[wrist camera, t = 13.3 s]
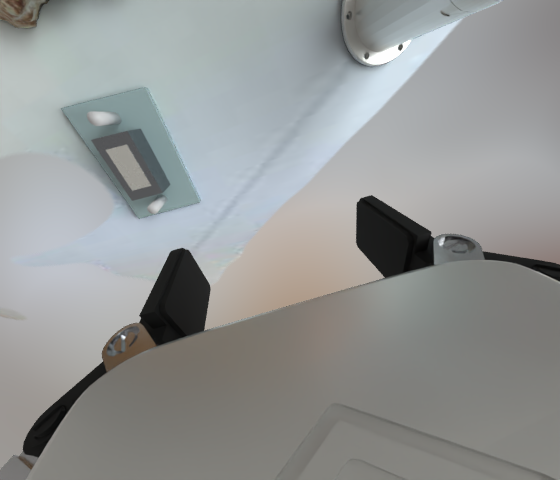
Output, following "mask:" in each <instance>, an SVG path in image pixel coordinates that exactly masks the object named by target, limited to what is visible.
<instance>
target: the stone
mask: <svg viewBox="0 0 560 480" xmlns="http://www.w3.org/2000/svg"><path fill="white" fill-rule="evenodd" d="M48 1H49V0H0V20H5V21H7V22H9V23H10V24H12V25H13V26H15V27H18V28H31V27H36V25H37V19H38V17H39V12H40V9H41V7H42V5H44V4H47V3H48Z"/></svg>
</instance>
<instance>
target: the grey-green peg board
mask: <svg viewBox="0 0 560 480" xmlns="http://www.w3.org/2000/svg"><path fill="white" fill-rule="evenodd" d="M61 109H62V111H63V112H64V114H65V115H66V117H67V118H68V119H69V121H70V122H71V124H72V125H73V126H74V128H75V129H76V131H77V132H78V134H79V135H80V136H81V138H82V139H83V141H84V142H85V143H86V145H87V146H88V148H89V149H90V151H91V152H92V153H93V155H94V156H95V158H96V159H97V160H98V162H99V163H100V165H101V166H102V168H103V169H104V170H105V172H106V173H107V175H108V176H109V177H110V179H111V180H112V182H113V183H114V184H115V186H116V187H117V189H118V190H119V192H120V193H121V194H122V196H123V197H124V199H125V200H126V201H127V203H128V204H129V206H130V207H131V209H132V210H133V211H134V213H135V214H136V216H137V217H138V218H139V219H140V218H144V217H148V216H151V215H155V214H159V213H162V212H166V211H170V210H173V209H177V208H181V207H184V206H188V205H192V204H195V203H199V202H200V201H201V200H200V198H199V196H198V194H197V192H196V189H195V187H194V185H193V183H192V181H191V179H190V177H189V175H188V173H187V171H186V168H185V166H184V164H183V162H182V160H181V158H180V156H179V154H178V152H177V149H176V147H175V145H174V143H173V141H172V139H171V137H170V135H169V133H168V130H167V128H166V126H165V124H164V122H163V120H162V118H161V116H160V114H159V111H158V109H157V107H156V105H155V103H154V101H153V99H152V97H151V95H150V92H149V90H148V88H146V87H144V88H140V89H136V90H132V91H128V92H124V93H120V94H116V95H112V96H108V97H104V98H100V99H96V100H92V101H88V102H84V103H80V104H76V105H72V106H68V107H64V108H61ZM135 129H141V130H142V132H143V134H144V135H145V137H146V139H147V141H148V143H149V145H150V147H151V149H152V150H153V152H154V154H155V156H156V158H157V160H158V162H159V164H160V165H161V167H162V169H163V171H164V173H165V175H166V177H167V179H168V181H169V182H170V184H171V185H170V186H169V187H168V188H167V189H166V190H165V191H164V192H163V193H161V194H157V195H153V196H149V197H145V198H142V199H138V200H134V201H132V200H131V199H130V197H129V196H128V194H127V193H126V191H125V190H124V188H123V187H122V185H121V184H120V182H119V181H118V180H117V178H116V177H115V175H114V174H113V172H112V171H111V169H110V168H109V166H108V165H107V163H106V162H105V160H104V159H103V157H102V156H101V155H100V153H99V152H98V150H97V149H96V147H95V146H94V144H93V143H92V141H91V140H92V139H96V138H100V137H104V136H108V135H112V134H116V133H120V132H124V131H129V130H135Z"/></svg>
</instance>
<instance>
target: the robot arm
mask: <svg viewBox="0 0 560 480" xmlns="http://www.w3.org/2000/svg"><path fill="white" fill-rule="evenodd" d="M501 1H503V0H343V2H342V10H341V24H342V32H343V36H344V40H345V44H346V46H347V48H348V50H349V52H350V53H351V55H352V56H353V57H354V58H355V59H356V60H357V61H358V62H359V63H361V64H364V65H366V66H380V65H383V64H386V63H388V62H390V61H392V60H393V59H395V58H396V57H397V56H399V55H400V54H401V53H402V52H403V51H404V50H405V49H406V48H407V46H408V45H409V43H410V42H411V41H412V39H414V38H417V37H419V36H421V35H424V34H426V33H429V32H431V31H433V30H436V29H438V28H440V27H443V26H445V25H447V24H450V23H452V22H455V21H457V20H459V19H462V18H464V17H466V16H468V15H471V14H474V13H476V12H478V11H481V10H483V9H485V8H488V7H490V6H493V5H495V4H497V3H499V2H501ZM346 16H348V19H347V17H346ZM364 56H365V59H364ZM356 224H357V225H356V227H357V228H356V243H357V246H358V248H359V249H360V250H361V251H362V252H363V253H364V254H365V256H366V257H367V258H368V259H369V260H370V261H371V262H372V264H373V265H374V266H375V267H376V268H377V269H378V270H379V271H380V272H381V274H383V276H384V277H385V278H383V279H380V280H376V281H373V282H369V283H366V284H363V285H359V286H355V287H352V288H348V289H345V290H341V291H338V292H334V293H331V294H327V295H324V296H321V297H317V298H314V299H310V300H307V301H303V302H300V303H296V304H293V305H289V306H286V307H283V308H279V309H276V310H272V311H269V312H266V313H262V314H259V315H255V316H252V317H249V318H245V319H242V320H239V321H235V322H232V323H228V324H225V325H222V326H218V327H215V328H212V329H209V330H205V331H204V327H205V321H206V315H207V308H208V302H209V296H210V285H209V283H208V281H207V279H206V278H205V276H204V274H203V273H202V271H201V269H200V268H199V266H198V265H197V263H196V261H195V260H194V258H193V256H192V255H191V253H190V251H189V250H185V249H184V248H180V249H177V250H173V251H171V252H170V254H169V256H168V258H167V260H166V262H165V264H164V266H163V268H162V270H161V272H160V274H159V276H158V279H157V281H156V283H155V285H154V287H153V289H152V291H151V293H150V295H149V297H148V299H147V301H146V303H145V305H144V307H143V309H142V312H141V313H140V315H139V316H140V317H141V320H140V322H139V323H133V324H129V325H127V326H125V327H124V328H122V329H120V330H119V331H118V332H117V333H115V334H114V335H113V336H112V337H111V338H110V339H109V341H108V342H107V343H106V345H105V346H104V348H103V351H102V359H103V362H102V363H101V364H100V365H99V366H97V367H96V368H95V369H94V370H93V371H92V372H90V373H89V374H88V375H87V376H86V377H85V378H83V379H82V380H81V381H80V382H79V383H77V384H76V385H75V386H74V387H73V388H72V389H70V390H69V391H68V392H67V393H66V394H65V395H63V396H62V397H61V398H60V399H59V400H58V401H57V402H55V403H54V404H53V405H52V406H51V407H50V408H48V409H47V410H46V411H45V412H44V413H43V414H42V415H41V416H40V417H39V418H38V420H37V421H36V422H35V424H34V425H33V427H32V428H31V429H30V431H29V433H28V434H27V437H26V439H25V441H24V445H23V452H22V453H21V454H20V456H16V455H13V456H12V458H11V459H10V460H9V461H8V462H7V463H6V464H5V465H4V466H3V467H2V468H1V470H0V480H560V265H559V264H556V263H551V262H545V261H540V260H534V259H528V258H520V257H515V256H508V255H502V254H496V253H490V252H483V251H482V248H481V246H480V244H479V243H478V242H476V241H475V240H473V239H471V238H469V237H466V236H463V235H458V234H442V235H439V236H437V237H436V238H433V237H432V236H431V231H429V230H427V229H426V228H424V227H422V226H421V225H419V224H418V223H416V222H414V221H413V220H411V219H409V218H408V217H406V216H404V215H403V214H401V213H400V212H398V211H397V210H395V209H393V208H392V207H390V206H388V205H387V204H385V203H384V202H382V201H380V200H379V199H377V198H375V197H374V196H372V195H371V196H367V197H364V198H361V199H360V201H359V202H357V223H356Z"/></svg>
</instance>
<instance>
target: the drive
mask: <svg viewBox="0 0 560 480" xmlns="http://www.w3.org/2000/svg"><path fill="white" fill-rule="evenodd" d="M91 141H92V143H93V144H94V146H95V147H96V149H97V150H98V152H99V153H100V155H101V156H102V157H103V159H104V160H105V162H106V163H107V165H108V166H109V168H110V169H111V171H112V172H113V174H114V175H115V177H116V178H117V180H118V181H119V182H120V184H121V185H122V187H123V188H124V190H125V191H126V193H127V194H128V196H129V197H130V199H131V200H132V201H134V200H138V199H142V198H145V197H149V196H153V195H157V194H161V193H163V192H164V191H165V190H166V189H167V188H168V187H169V186H170V185H171V184H170V182H169V181H168V179H167V177H166V175H165V173H164V171H163V169H162V167H161V165H160V164H159V162H158V160H157V158H156V156H155V154H154V152H153V150H152V149H151V147H150V145H149V143H148V141H147V139H146V137H145V135H144V134H143V132H142V130H141V129H135V130H129V131H124V132H120V133H116V134H112V135H108V136H104V137H100V138H96V139H92V140H91Z"/></svg>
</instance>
